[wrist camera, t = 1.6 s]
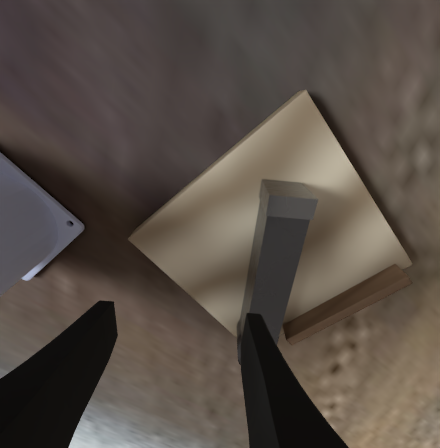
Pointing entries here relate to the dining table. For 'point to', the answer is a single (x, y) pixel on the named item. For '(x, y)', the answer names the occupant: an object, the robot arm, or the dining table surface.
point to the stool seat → (247, 216)
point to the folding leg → (275, 252)
